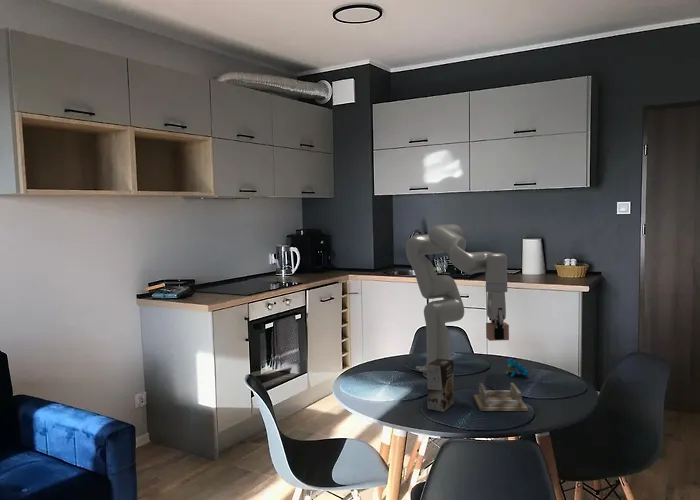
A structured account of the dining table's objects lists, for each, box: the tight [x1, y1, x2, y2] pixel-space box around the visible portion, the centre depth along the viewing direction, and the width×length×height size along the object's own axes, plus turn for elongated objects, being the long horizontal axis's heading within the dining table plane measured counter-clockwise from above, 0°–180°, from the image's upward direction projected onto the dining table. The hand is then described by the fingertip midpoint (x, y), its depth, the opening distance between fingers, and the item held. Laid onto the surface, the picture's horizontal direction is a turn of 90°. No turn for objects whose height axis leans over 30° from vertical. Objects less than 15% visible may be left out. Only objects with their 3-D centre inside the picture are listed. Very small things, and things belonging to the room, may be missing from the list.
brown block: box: [485, 321, 510, 342], centre depth 205 cm, size 7×5×6 cm
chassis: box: [473, 382, 529, 412], centre depth 202 cm, size 16×14×6 cm
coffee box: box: [427, 359, 454, 413], centre depth 200 cm, size 9×6×16 cm
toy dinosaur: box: [505, 358, 530, 378], centre depth 234 cm, size 11×6×10 cm
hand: (497, 337), depth 205 cm, fingers closed on brown block, 5 cm apart
